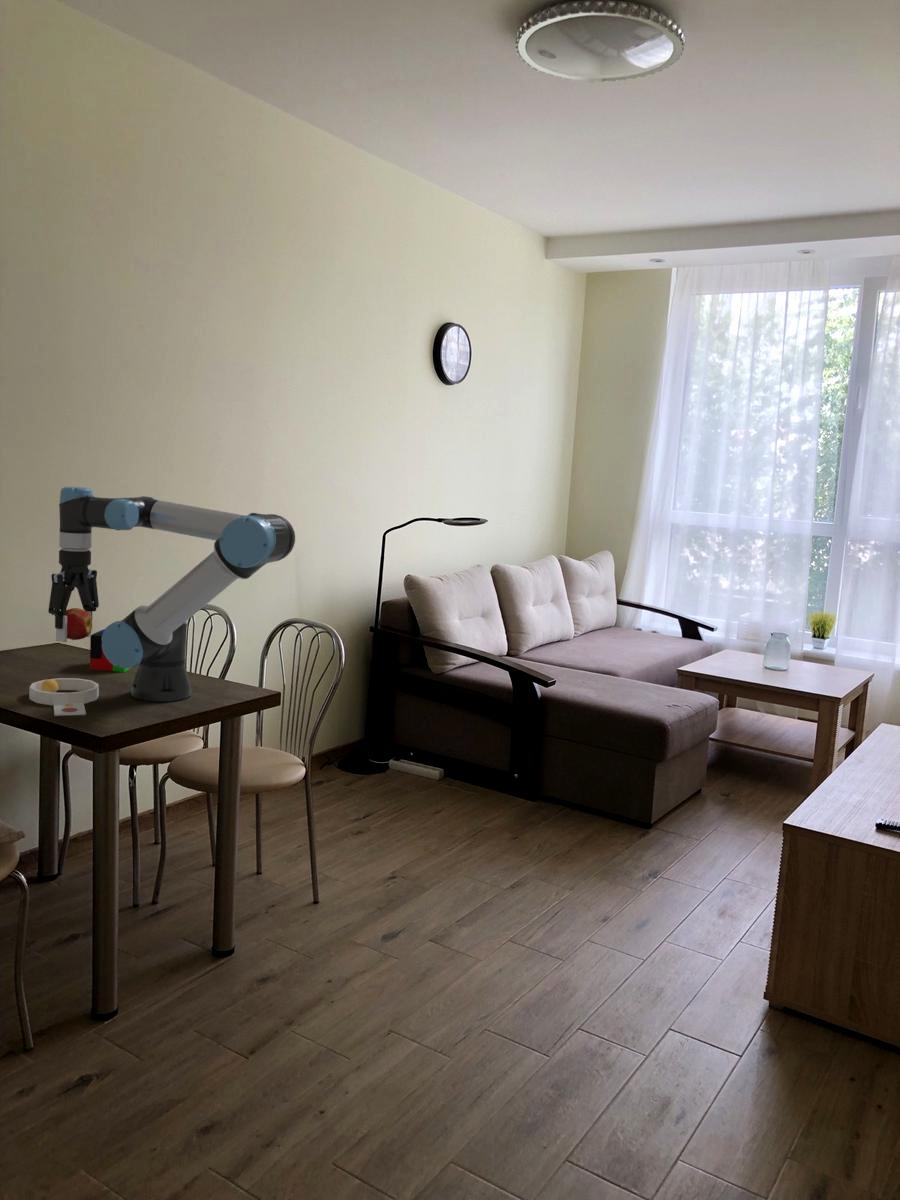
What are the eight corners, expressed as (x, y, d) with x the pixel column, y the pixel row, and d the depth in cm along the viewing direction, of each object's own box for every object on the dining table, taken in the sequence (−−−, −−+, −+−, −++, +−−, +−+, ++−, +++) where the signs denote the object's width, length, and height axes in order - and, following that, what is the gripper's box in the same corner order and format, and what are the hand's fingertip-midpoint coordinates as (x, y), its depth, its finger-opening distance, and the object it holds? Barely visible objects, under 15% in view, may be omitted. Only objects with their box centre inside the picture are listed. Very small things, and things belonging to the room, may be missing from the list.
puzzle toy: (103, 662, 296) (103, 629, 294) (136, 664, 295) (137, 631, 294) (89, 669, 286) (90, 635, 284) (124, 672, 286) (125, 637, 284)
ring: (110, 694, 260) (111, 683, 259) (70, 708, 245) (70, 696, 244) (58, 686, 264) (59, 675, 264) (16, 699, 249) (16, 687, 249)
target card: (85, 714, 240) (85, 712, 240) (54, 715, 238) (54, 713, 238) (83, 704, 249) (83, 702, 249) (53, 704, 247) (53, 703, 247)
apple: (80, 644, 248) (81, 612, 247) (49, 640, 249) (50, 609, 248) (96, 638, 256) (97, 608, 255) (66, 635, 257) (66, 604, 256)
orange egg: (61, 694, 257) (61, 679, 257) (50, 697, 253) (51, 682, 253) (48, 692, 258) (48, 676, 258) (37, 695, 254) (37, 680, 254)
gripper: (91, 545, 260) (90, 631, 264) (32, 550, 241) (31, 643, 244) (115, 548, 258) (113, 634, 261) (57, 553, 239) (55, 647, 242)
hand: (73, 638), depth 253 cm, fingers closed on apple, 8 cm apart
